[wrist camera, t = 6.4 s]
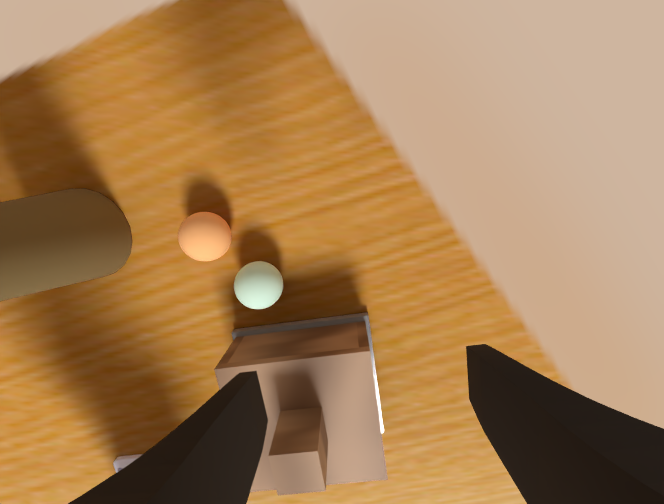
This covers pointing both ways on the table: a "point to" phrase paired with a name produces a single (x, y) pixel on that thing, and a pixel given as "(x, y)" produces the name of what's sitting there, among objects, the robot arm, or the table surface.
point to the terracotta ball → (204, 236)
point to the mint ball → (258, 285)
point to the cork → (60, 241)
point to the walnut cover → (313, 406)
